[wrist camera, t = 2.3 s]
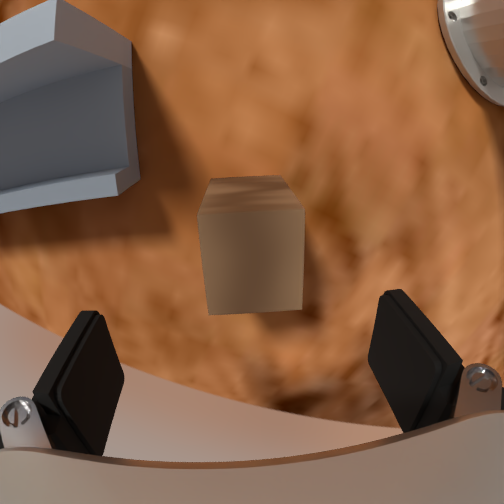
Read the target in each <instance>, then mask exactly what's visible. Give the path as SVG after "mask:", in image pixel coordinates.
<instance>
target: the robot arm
mask: <svg viewBox="0 0 504 504" xmlns="http://www.w3.org/2000/svg"><path fill="white" fill-rule="evenodd" d="M437 7H438V17H439V22H440V26H441V30H442V34H443V37H444V39H445V42H446V45H447V48H448V50H449V52H450V54H451V56H452V58H453V60H454V62H455V63H456V65H457V67H458V68H459V70H460V71H461V73H462V75H463V76H464V77H465V78H466V80H467V81H468V82H469V84H470V85H471V86H472V87H473V88H474V89H475V90H476V91H477V92H478V93H479V94H480V95H481V96H483V97H484V98H485V99H487V100H488V101H490V102H492V103H494V104H496V105H499V106H504V0H438V4H437ZM462 361H463V360H462V359H461V358H460V356H459V355H458V354H457V353H456V351H455V350H454V349H453V348H452V347H451V345H450V344H449V343H448V342H447V340H446V339H445V338H444V337H443V336H442V335H441V333H440V332H439V331H438V330H437V329H436V327H435V326H434V325H433V324H432V323H431V322H430V320H429V319H428V318H427V317H426V316H425V315H424V314H423V312H422V311H421V310H420V309H419V308H418V307H417V306H416V305H415V303H414V302H413V301H412V300H411V299H410V298H409V297H408V296H407V294H406V293H405V292H404V291H403V290H402V289H396V290H388V291H385V292H384V294H383V295H381V296H380V298H379V302H378V308H377V314H376V319H375V324H374V330H373V335H372V339H371V344H370V349H369V353H368V362H369V365H370V367H371V369H372V371H373V373H374V375H375V377H376V379H377V381H378V383H379V385H380V387H381V389H382V391H383V393H384V395H385V397H386V399H387V401H388V403H389V405H390V407H391V409H392V411H393V413H394V415H395V417H396V419H397V421H398V423H399V425H400V427H401V429H402V431H403V432H404V433H403V434H399V435H395V436H391V437H388V438H384V439H381V440H376V441H372V442H368V443H364V444H360V445H355V446H350V447H345V448H340V449H335V450H330V451H324V452H318V453H312V454H305V455H298V456H291V457H283V458H273V459H262V460H250V461H234V462H162V461H144V460H133V459H123V458H113V457H105V456H102V455H103V453H104V449H105V445H106V442H107V438H108V434H109V431H110V427H111V424H112V420H113V417H114V413H115V409H116V407H117V403H118V400H119V397H120V393H121V390H122V387H123V384H124V373H123V370H122V367H121V365H120V362H119V359H118V356H117V354H116V351H115V348H114V345H113V342H112V339H111V336H110V333H109V330H108V327H107V324H106V321H105V318H104V316H103V315H100V314H99V312H98V311H81V312H80V313H79V315H78V316H77V318H76V319H75V321H74V323H73V324H72V326H71V327H70V329H69V330H68V332H67V334H66V335H65V337H64V338H63V340H62V342H61V344H60V345H59V347H58V348H57V350H56V352H55V354H54V355H53V357H52V358H51V360H50V362H49V363H48V365H47V367H46V369H45V370H44V372H43V374H42V376H41V377H40V379H39V381H38V383H37V385H36V386H35V388H34V390H33V394H34V396H33V398H32V400H31V399H29V398H26V397H16V398H13V399H11V400H9V401H7V402H6V403H5V404H4V405H3V406H2V408H1V410H0V504H504V388H503V387H502V381H501V377H500V375H499V374H498V373H497V372H496V370H495V369H493V368H491V367H490V366H488V365H485V364H480V363H475V364H471V365H468V366H467V367H466V368H464V366H463V365H462Z"/></svg>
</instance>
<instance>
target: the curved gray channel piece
mask: <svg viewBox="0 0 504 504" xmlns="http://www.w3.org/2000/svg"><path fill="white" fill-rule="evenodd" d="M140 179H141V178H140V170H139V161H138V151H137V140H136V129H135V116H134V101H133V81H132V45H131V41H130V40H128V39H127V38H125V37H124V36H122V35H120V34H119V33H117V32H116V31H114V30H113V29H111V28H109V27H108V26H106V25H105V24H103V23H101V22H100V21H98V20H96V19H95V18H93V17H91V16H90V15H88V14H86V13H85V12H83V11H81V10H79V9H78V8H76V7H74V6H73V5H71V4H69V3H67V2H65V1H64V0H48V1H46V2H44V3H41V4H39V5H37V6H35V7H32V8H30V9H28V10H26V11H24V12H22V13H20V14H18V15H16V16H14V17H12V18H10V19H8V20H6V21H4V22H2V23H1V24H0V213H5V212H10V211H16V210H22V209H28V208H34V207H40V206H46V205H52V204H59V203H66V202H73V201H80V200H87V199H95V198H103V197H111V196H118V195H120V194H121V193H122V192H124V191H125V190H126V189H128V188H129V187H131V186H132V185H133V184H135V183H136V182H138V181H139V180H140Z"/></svg>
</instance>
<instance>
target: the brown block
mask: <svg viewBox="0 0 504 504" xmlns="http://www.w3.org/2000/svg"><path fill="white" fill-rule="evenodd" d="M197 221H198V230H199V240H200V249H201V258H202V266H203V274H204V283H205V291H206V298H207V306H208V313H209V315H225V314H244V313H261V312H276V311H289V310H302V299H303V274H304V239H305V208H304V207H303V206H302V204H301V203H300V201H299V200H298V199H297V197H296V196H295V195H294V193H293V192H292V190H291V189H290V188H289V186H288V185H287V184H286V182H285V181H284V180H283V178H282V177H281V175H270V176H247V177H229V178H214V179H211V180H210V183H209V185H208V188H207V190H206V193H205V195H204V198H203V200H202V203H201V206H200V208H199V211H198V213H197Z"/></svg>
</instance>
